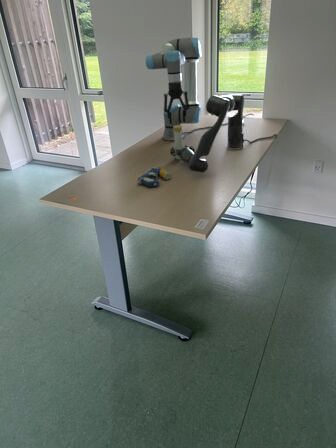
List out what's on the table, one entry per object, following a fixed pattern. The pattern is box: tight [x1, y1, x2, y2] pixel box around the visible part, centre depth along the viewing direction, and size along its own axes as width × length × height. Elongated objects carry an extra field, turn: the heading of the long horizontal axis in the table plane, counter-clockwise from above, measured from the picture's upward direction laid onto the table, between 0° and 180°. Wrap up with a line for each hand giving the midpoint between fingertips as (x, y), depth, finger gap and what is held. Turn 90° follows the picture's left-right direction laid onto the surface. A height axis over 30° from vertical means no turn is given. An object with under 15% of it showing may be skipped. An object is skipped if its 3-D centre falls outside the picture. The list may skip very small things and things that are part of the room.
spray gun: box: [137, 166, 171, 188], centre depth 184 cm, size 21×4×15 cm
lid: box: [173, 124, 183, 132], centre depth 202 cm, size 5×5×2 cm
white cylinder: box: [174, 130, 184, 160], centre depth 206 cm, size 5×5×20 cm
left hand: (177, 122), depth 200 cm, fingers open, 7 cm apart
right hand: (178, 147), depth 209 cm, fingers open, 8 cm apart
